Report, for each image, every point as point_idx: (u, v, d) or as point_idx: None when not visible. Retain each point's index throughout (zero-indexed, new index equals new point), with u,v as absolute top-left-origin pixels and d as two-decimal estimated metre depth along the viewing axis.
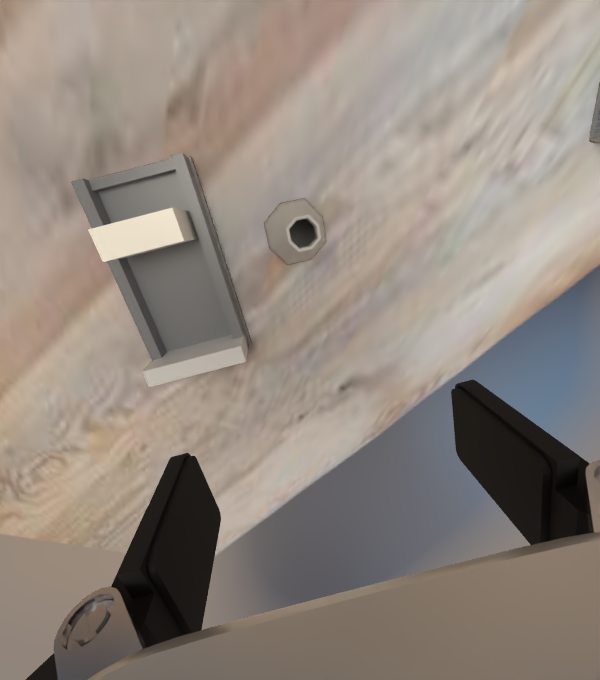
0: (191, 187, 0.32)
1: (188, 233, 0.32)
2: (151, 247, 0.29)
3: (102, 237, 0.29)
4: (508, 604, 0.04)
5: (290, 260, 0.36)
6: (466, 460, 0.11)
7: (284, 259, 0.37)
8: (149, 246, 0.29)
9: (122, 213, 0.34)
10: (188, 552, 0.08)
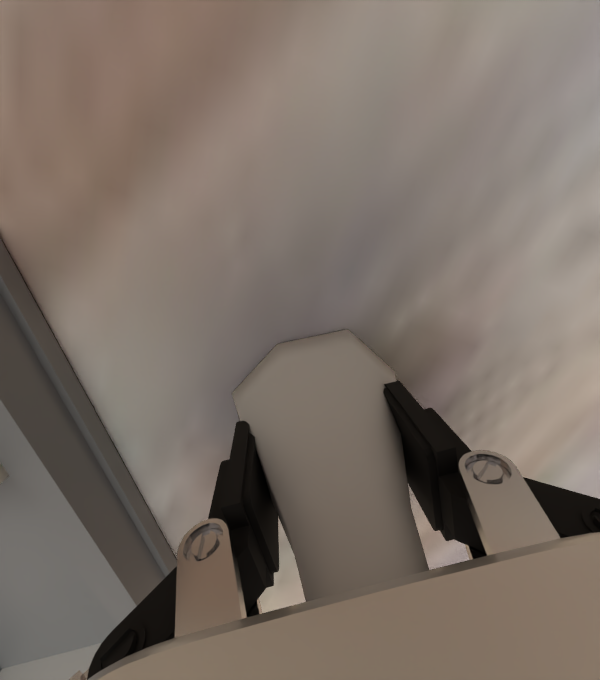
0: None
1: None
2: None
3: None
4: (508, 604, 0.04)
5: None
6: None
7: None
8: None
9: None
10: (264, 500, 0.09)
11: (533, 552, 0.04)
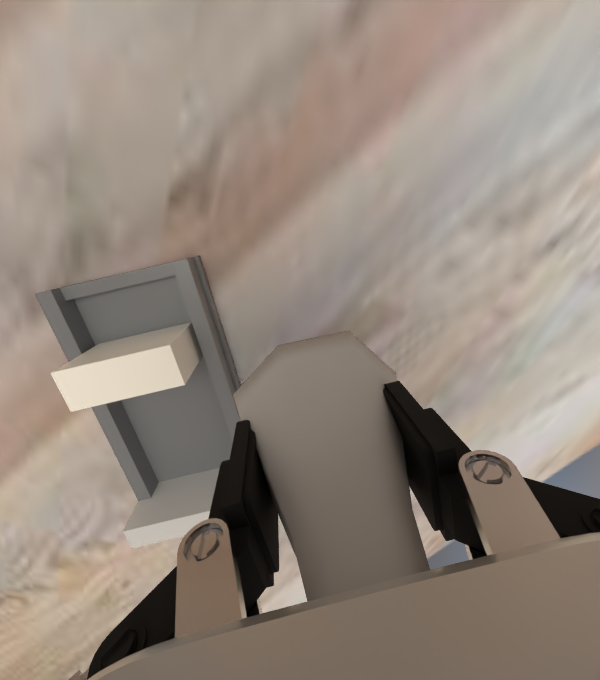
0: (197, 300, 0.24)
1: (191, 362, 0.24)
2: (139, 393, 0.21)
3: (70, 382, 0.21)
4: (508, 603, 0.04)
5: None
6: None
7: None
8: (137, 391, 0.21)
9: (105, 324, 0.26)
10: (264, 500, 0.09)
11: (533, 552, 0.04)
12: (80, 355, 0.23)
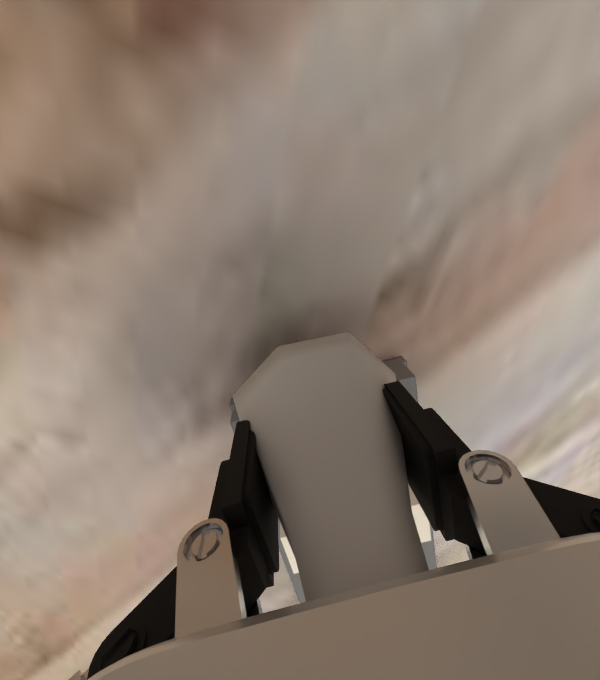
0: None
1: None
2: None
3: None
4: (508, 603, 0.04)
5: None
6: None
7: None
8: None
9: None
10: (264, 499, 0.09)
11: (533, 552, 0.04)
12: None
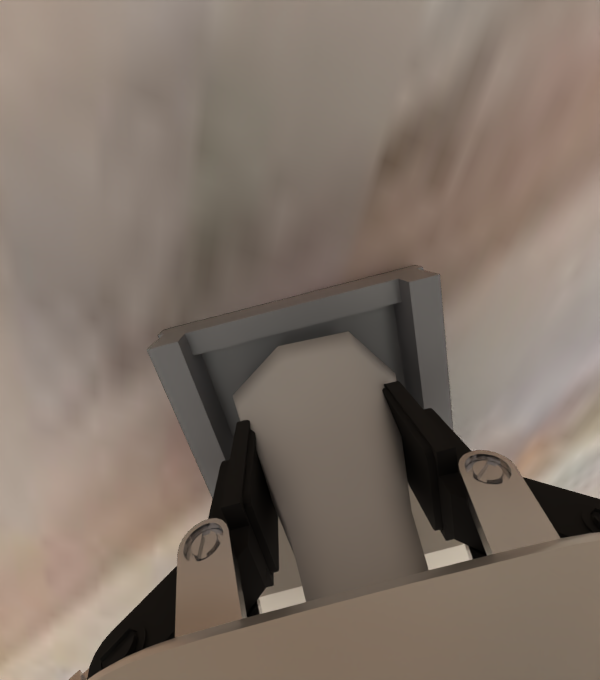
0: (440, 350, 0.13)
1: None
2: None
3: None
4: (508, 603, 0.04)
5: None
6: None
7: None
8: None
9: None
10: (264, 499, 0.09)
11: (533, 552, 0.04)
12: None
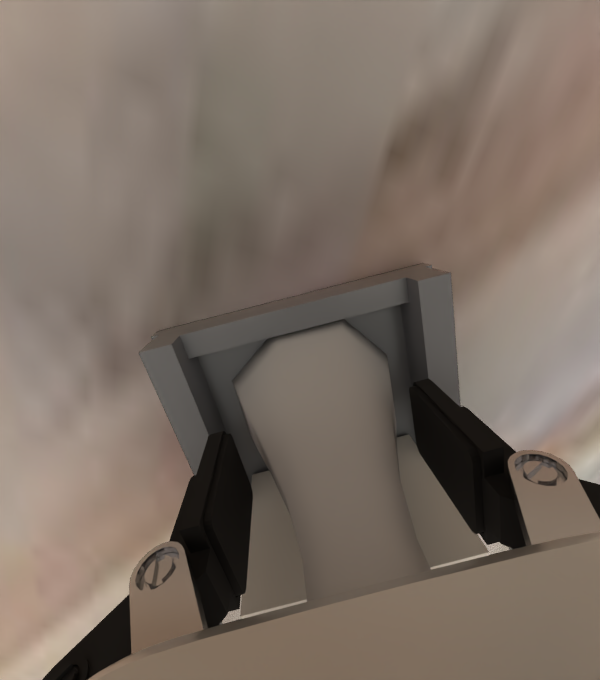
0: (450, 353, 0.12)
1: None
2: None
3: None
4: (508, 603, 0.04)
5: None
6: (423, 454, 0.11)
7: None
8: None
9: None
10: (232, 518, 0.09)
11: (533, 552, 0.04)
12: (251, 526, 0.13)
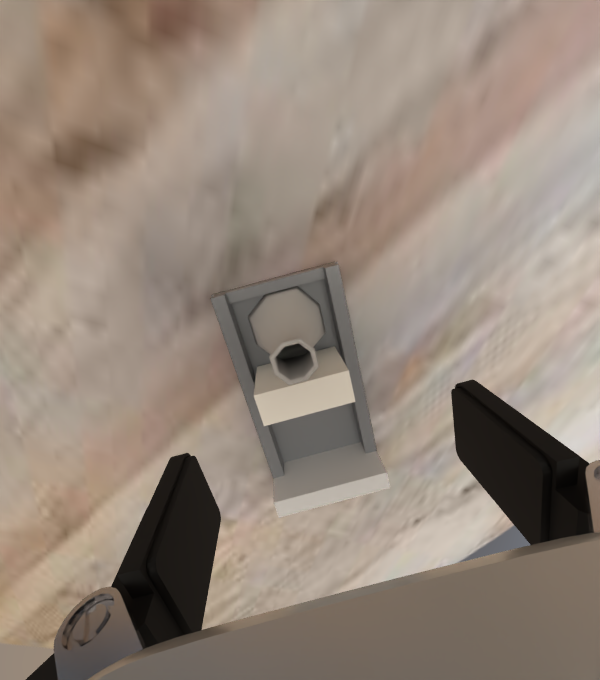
0: (343, 300, 0.28)
1: None
2: (319, 409, 0.26)
3: (267, 402, 0.25)
4: (508, 604, 0.04)
5: (282, 361, 0.29)
6: (466, 460, 0.11)
7: None
8: (317, 408, 0.26)
9: None
10: (188, 552, 0.08)
11: (533, 552, 0.04)
12: (257, 378, 0.28)
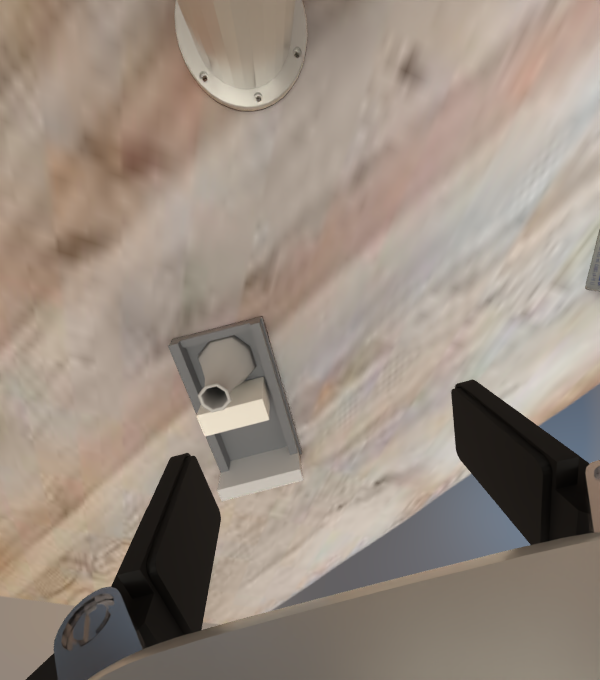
0: (264, 346, 0.39)
1: (268, 404, 0.39)
2: (243, 425, 0.37)
3: (206, 420, 0.37)
4: (508, 604, 0.04)
5: None
6: (466, 460, 0.11)
7: None
8: (242, 424, 0.37)
9: None
10: (188, 552, 0.08)
11: (533, 552, 0.04)
12: None
